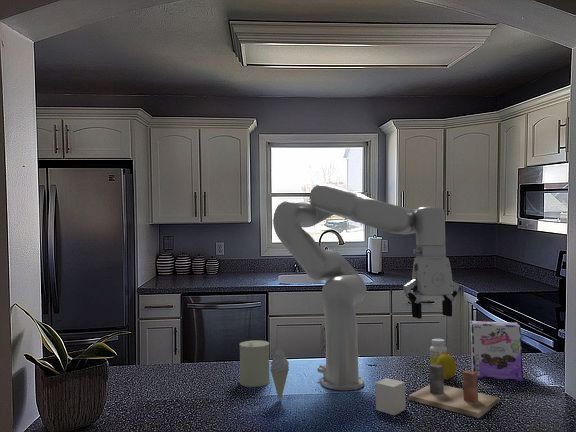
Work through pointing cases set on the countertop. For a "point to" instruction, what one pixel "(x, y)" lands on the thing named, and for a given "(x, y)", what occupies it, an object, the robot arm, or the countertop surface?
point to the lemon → (447, 365)
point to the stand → (454, 394)
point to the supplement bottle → (437, 350)
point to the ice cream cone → (279, 371)
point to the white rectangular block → (390, 396)
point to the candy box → (496, 350)
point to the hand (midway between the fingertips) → (432, 316)
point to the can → (254, 363)
